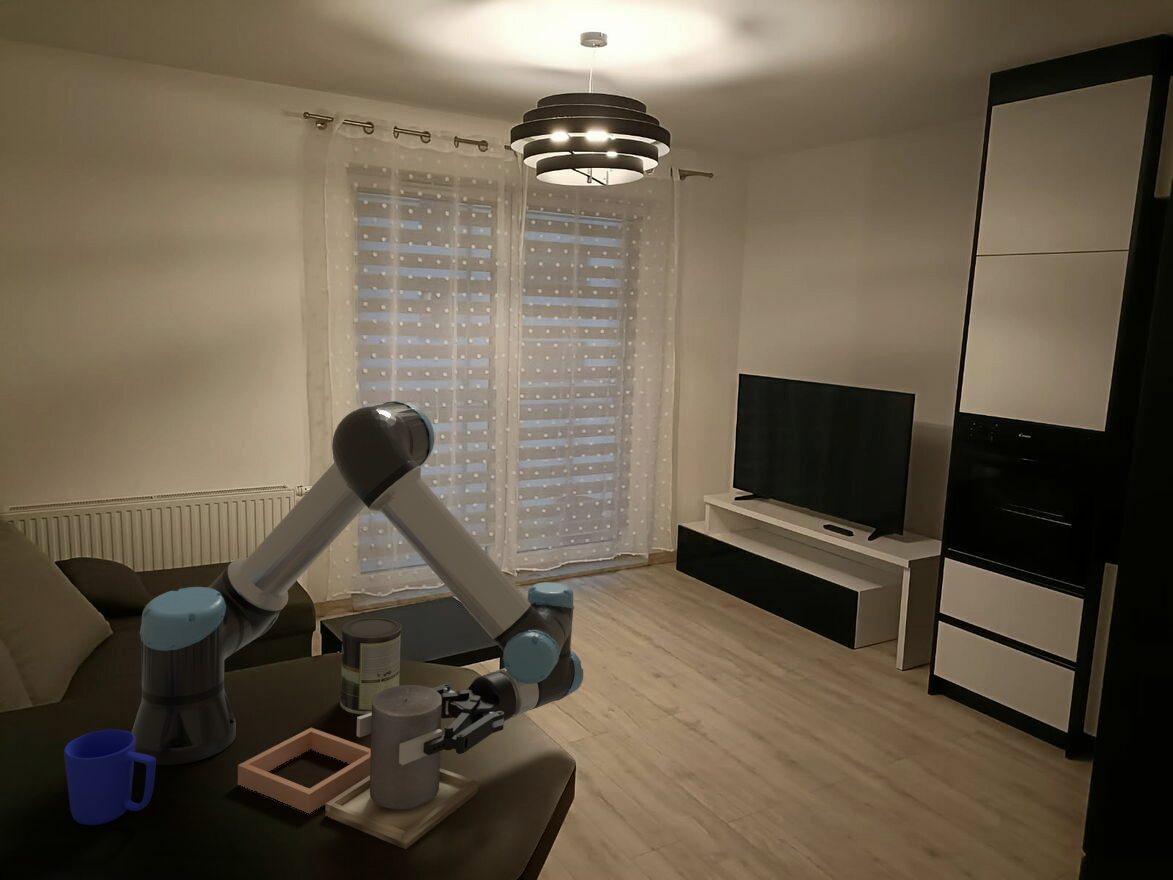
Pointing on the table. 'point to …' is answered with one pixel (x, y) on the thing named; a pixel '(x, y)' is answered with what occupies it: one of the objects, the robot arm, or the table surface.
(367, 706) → the coffee can
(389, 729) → the pillar candle
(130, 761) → the mug
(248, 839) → the table surface
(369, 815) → the tray
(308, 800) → the holder
